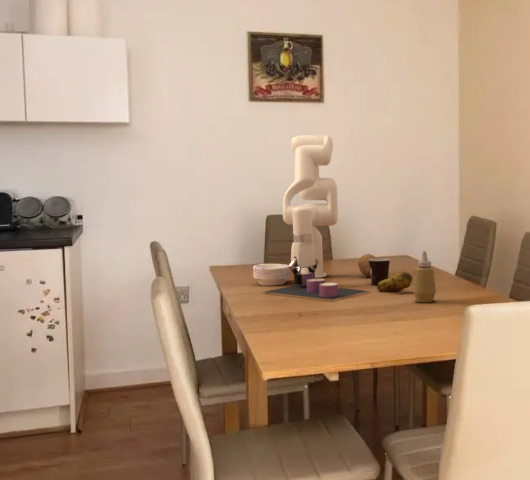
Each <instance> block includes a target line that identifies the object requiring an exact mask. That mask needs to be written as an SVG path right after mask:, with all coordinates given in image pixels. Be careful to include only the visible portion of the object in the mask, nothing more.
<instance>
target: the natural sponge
mask: <svg viewBox="0 0 530 480" xmlns="http://www.w3.org/2000/svg"><path fill="white" fill-rule="evenodd" d="M376 258H377V257H376V256H375V255H373V254H371V253H365V254H364V255H362V256H360V258H359V259H358V260H357V261H358V262H357V266H358V269H359V271H360V273H361V274H362V275H363V276H364V277H366V278H371V274H370V266H369V259H376Z"/></svg>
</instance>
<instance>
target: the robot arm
mask: <svg viewBox="0 0 530 480" xmlns="http://www.w3.org/2000/svg"><path fill="white" fill-rule="evenodd" d="M290 146H291V147H290V148H291V150H292V153H293V156H294V163H293V164H294V176H293V177H294V178H293V179H294V180H293V182H292V183H291V184H290V186H288V187H287V189H286V191H285V193H284V195H283V199H282V220H283V222H284V223H285V224H287V225H292V234H293V236H292V237H293V242H292V244H291V251H290V263H289V264H288V265H289V267H290V272H292V274H293V279H294V285H301V284H302V282H301V275H300V272H313V273H314V279H323V278H326V277H327V276H328V273H327V272H324V258H323V257H324V256H323V254H324V253H323V235H322V233H321V232H320V231H319V229H318V228H317V227H329V226H335V225H337V224H338V220H339V210H338V208H339V207H338V187H337V182H336V180H335V179H334V178H332V177H320V167H323V166H324V167H325V166H326V167H327V166H329V165H330V163H331V160H332V155H333V149H334V147H333V146H334V144H333V139H332V137H331V136H329V135H328V134H305V135H304V134H302V135H301V134H300V135H296V136H294V137H292V138H291V141H290ZM297 194H300V195H299V196H300V197H301V199H302V200H304V201H325V203H324V202H323V203H319V202H318V203H316V202H314V203H303V204H300V205H291V201H292V199H293V198H294V197H295V196H296V195H297Z"/></svg>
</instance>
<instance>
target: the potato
mask: <svg viewBox="0 0 530 480" xmlns="http://www.w3.org/2000/svg"><path fill="white" fill-rule="evenodd" d="M412 282H413V276H412V275H411V273H410V272H407V271H400V272H396V273H394V274H393V275H391V276H390V277H388V279H385V280H383V281H381V282H379V283H378V285H377V290H378V291H379V292H381V293H392V292H393V293H394V292H400V291H402V290H405V289H407V288H410V287H411V284H412Z"/></svg>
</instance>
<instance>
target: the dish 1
mask: <svg viewBox="0 0 530 480" xmlns="http://www.w3.org/2000/svg"><path fill="white" fill-rule="evenodd" d="M300 275H301V282H302V284H301V285H306V280H308V279H314V273H313V272H300Z"/></svg>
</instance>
